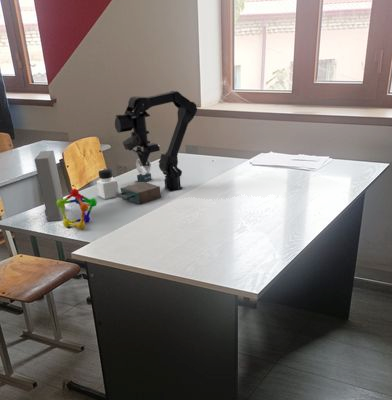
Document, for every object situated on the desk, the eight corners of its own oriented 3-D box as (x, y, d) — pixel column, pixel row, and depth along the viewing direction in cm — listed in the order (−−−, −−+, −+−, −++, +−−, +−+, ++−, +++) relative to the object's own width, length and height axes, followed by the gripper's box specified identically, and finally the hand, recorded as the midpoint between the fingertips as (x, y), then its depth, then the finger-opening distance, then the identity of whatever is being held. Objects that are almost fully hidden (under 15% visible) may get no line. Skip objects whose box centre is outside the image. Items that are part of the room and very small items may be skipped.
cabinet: (144, 192, 236) (143, 181, 233) (160, 197, 228) (159, 186, 225) (124, 198, 230) (122, 187, 227) (140, 203, 222) (139, 192, 219)
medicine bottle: (119, 196, 233) (115, 169, 227) (105, 199, 230) (101, 172, 224) (112, 192, 239) (108, 166, 232) (98, 196, 235) (94, 169, 229)
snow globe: (146, 183, 249) (144, 160, 243) (135, 181, 254) (132, 158, 248) (154, 180, 253) (152, 157, 247) (142, 178, 257) (140, 155, 251)
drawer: (142, 192, 236) (141, 181, 233) (159, 197, 227) (158, 187, 224) (114, 200, 227) (112, 190, 225) (130, 206, 219) (129, 195, 216)
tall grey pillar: (51, 210, 221) (38, 151, 208) (65, 209, 221) (53, 150, 208) (46, 221, 209) (32, 159, 196) (61, 220, 209) (47, 158, 196)
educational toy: (104, 222, 207) (101, 186, 198) (87, 234, 197) (83, 196, 188) (71, 216, 211) (67, 180, 203) (53, 227, 201) (48, 190, 193)
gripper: (112, 129, 219) (117, 166, 227) (137, 134, 207) (141, 173, 215) (133, 125, 225) (137, 161, 233) (158, 130, 213) (162, 167, 221)
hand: (144, 166), depth 225 cm, fingers closed
